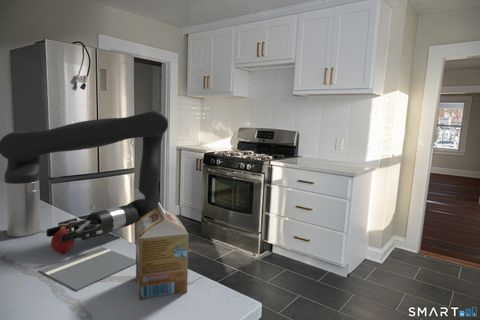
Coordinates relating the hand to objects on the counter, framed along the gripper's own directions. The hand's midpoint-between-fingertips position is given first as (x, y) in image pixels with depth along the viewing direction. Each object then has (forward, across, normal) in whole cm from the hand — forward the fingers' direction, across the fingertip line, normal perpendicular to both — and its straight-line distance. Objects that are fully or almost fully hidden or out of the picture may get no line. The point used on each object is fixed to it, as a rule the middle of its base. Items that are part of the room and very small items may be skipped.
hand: (54, 236), depth 86 cm
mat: (-2, +13, +6) cm, 15 cm away
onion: (-2, 0, +6) cm, 7 cm away
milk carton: (-6, +34, +6) cm, 35 cm away
